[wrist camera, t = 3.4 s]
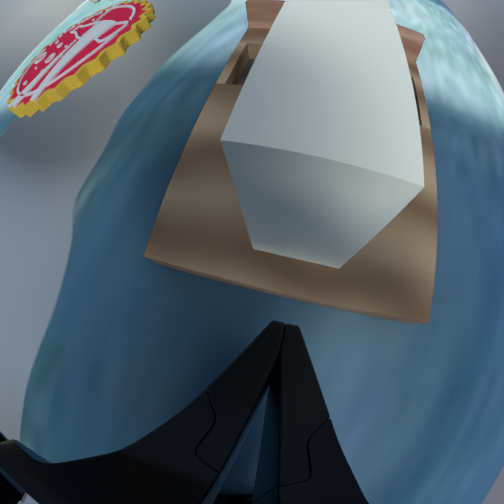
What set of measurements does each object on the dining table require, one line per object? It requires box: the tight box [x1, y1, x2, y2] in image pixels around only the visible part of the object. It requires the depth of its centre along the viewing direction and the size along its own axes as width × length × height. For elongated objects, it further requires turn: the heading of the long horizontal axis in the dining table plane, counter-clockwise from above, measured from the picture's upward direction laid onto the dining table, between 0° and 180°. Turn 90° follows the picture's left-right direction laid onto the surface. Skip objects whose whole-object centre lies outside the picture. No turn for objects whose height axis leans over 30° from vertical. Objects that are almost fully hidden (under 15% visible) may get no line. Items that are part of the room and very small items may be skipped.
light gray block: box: [220, 0, 424, 269], centre depth 12 cm, size 14×5×10 cm, turn 166°
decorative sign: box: [7, 0, 155, 118], centre depth 29 cm, size 30×3×30 cm
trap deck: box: [144, 0, 437, 323], centre depth 17 cm, size 26×18×6 cm
